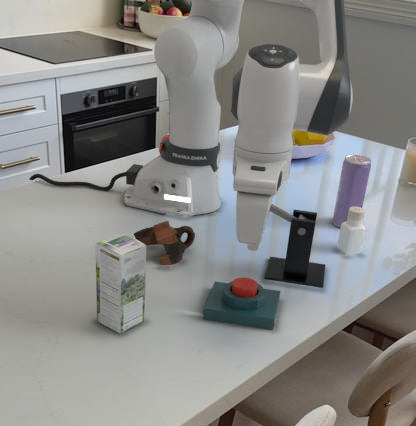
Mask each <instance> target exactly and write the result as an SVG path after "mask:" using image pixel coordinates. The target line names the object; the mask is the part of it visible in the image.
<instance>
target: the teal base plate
mask: <svg viewBox="0 0 416 426" xmlns="http://www.w3.org/2000/svg"><path fill="white" fill-rule="evenodd" d="M232 282H233V280H231V281H229V282H223V281H216V280H215V281H214V282H213V284H212V288H211V290H210V292H209V295H208V297H207V300H206V302H205V304H204V307H203V317H202V318H203V320H208V321H214V322H220V323H226V324H233V325H239V326H246V327H252V328H258V329H259V328H260V329H265V330H270V331H273V330H274V327H275V320H276V316H277V311H278V306H279V303H280V297H281V290H276V289H270V288H269V289H268V288H264V287H263V285H262V284H259V283H258V288H257V294H256V296H254V297H248V298H244V297H238V296H236V295H234V294H232V291H231V290H232Z"/></svg>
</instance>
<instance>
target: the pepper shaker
mask: <svg viewBox="0 0 416 426" xmlns="http://www.w3.org/2000/svg"><path fill="white" fill-rule="evenodd" d="M365 214H366V210H365V208H363V207H362V208H361V207H350V208H349V212H348V219H347V221H346V222H343V223H342V224H341V228H340V229H339V235H338V240H337V244H336V249H338V250H339V251H341V252H342V253H343V254H344V255H357V254H361V253H362V251H363V245H364V241H365V237H366V232H367V227H366V226H365V225H364V224H363V222H364V219H365V218H364V217H365Z"/></svg>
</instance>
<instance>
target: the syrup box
mask: <svg viewBox="0 0 416 426" xmlns="http://www.w3.org/2000/svg"><path fill="white" fill-rule="evenodd" d="M146 273H147V245H145V244H144V243H142V242H140V241H138V240H137V239H136V238H135V237H134V236H130V235H127V234H124V233H119V234H116V235H114V236H111V237H109V238H106V239H104V240H101V241H99V242H96V243H95V284H96V285H95V291H96V293H95V294H96V321H97V323H99V324H101V325H103V326H105V327H107V328H109V329H110V330H112V331H114V332H116V333H118V334H123V333H125V332H127V331H128V330H131V329H132V328H135V327H137V326H138V325H141V324H143V323H144V322H145V309H146V307H145V305H146V304H145V303H146V277H147V276H146V275H147V274H146Z"/></svg>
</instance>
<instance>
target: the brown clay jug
mask: <svg viewBox="0 0 416 426" xmlns="http://www.w3.org/2000/svg"><path fill="white" fill-rule="evenodd" d="M183 234H186V235H187V237H186V239H185V241H183V240H182V236H183ZM133 237H134V238H135V239H137V240H138V241H140V242H142V243H143V244H145V245H146V246H153V245H154V246H155V245H160V246H163V248H164V249H165V252H166V253H165V254H164V255H162V256H159V257H158V258H157V260H158V263H159V265H160V266H172V265H173V266H174V265H176V264H179V263H180V262H181V261H182V260H183V256H184V255H183V254H184V253H185V251H186V250H187V249H189V248H190V247H191V246H192V245H193V243H194V241H195V238H196V233H195V231H194V228H192V227H191V226H189V225H182V226H179V227H173V226H171V225H170V223H169V220H165V221H161V222H159V223H157V224H154V225H153V226H149V227H145V228H142V229H139V230H138V231H136V232H134V233H133Z"/></svg>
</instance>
